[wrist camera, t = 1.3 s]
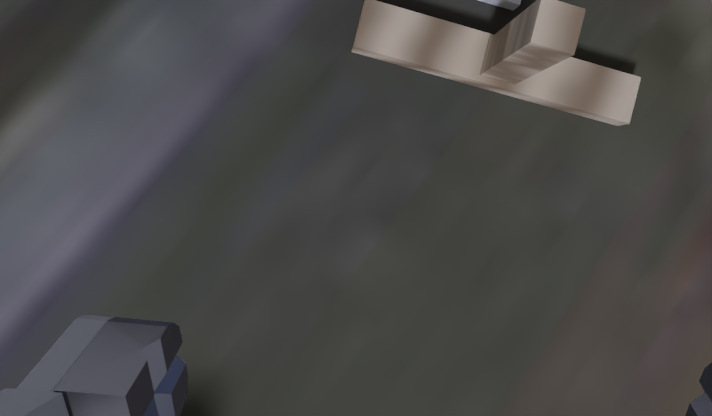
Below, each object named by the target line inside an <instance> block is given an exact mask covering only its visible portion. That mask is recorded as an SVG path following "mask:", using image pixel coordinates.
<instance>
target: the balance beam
mask: <svg viewBox="0 0 712 416" xmlns="http://www.w3.org/2000/svg"><path fill="white" fill-rule="evenodd" d="M585 11H586V9H584V8H581V7H577V6H574V5H571V4H567V3H564V2H561V1H557V0H537V1H535V2H534V3H533V4H532V5H530V6H529V7H528V8H527V9H525V10H524V11H523V12H522V13H520V14H519V15H518V16H517V17H516V18H514V19H513V20H512V21H511V22H509V23H508V24H507V25H506V26H504V27H503V28H502V29H501V30H499V31H498V32H497V33H496V34H495V35H494V34H490V33H487V32H483V31H480V30H476V29H473V28H470V27H466V26H463V25H459V24H456V23H452V22H449V21H445V20H442V19H438V18H435V17H432V16H428V15H425V14H421V13H418V12H414V11H411V10H407V9H404V8H401V7H397V6H394V5H390V4H387V3H383V2H380V1H376V0H365V1H364V4H363V7H362V11H361V15H360V19H359V23H358V27H357V31H356V35H355V39H354V43H353V47H352V52H354V53H357V54H361V55H364V56H368V57H372V58H375V59H379V60H382V61H386V62H390V63H393V64H397V65H400V66H404V67H408V68H411V69H415V70H418V71H422V72H426V73H429V74H433V75H436V76H440V77H443V78H447V79H451V80H454V81H458V82H461V83H465V84H469V85H472V86H476V87H479V88H483V89H487V90H490V91H494V92H497V93H501V94H505V95H508V96H512V97H515V98H519V99H523V100H526V101H530V102H533V103H537V104H540V105H544V106H548V107H551V108H555V109H558V110H562V111H566V112H569V113H573V114H576V115H580V116H584V117H587V118H591V119H594V120H598V121H602V122H605V123H609V124H612V125H616V126H620V125H625V124H630V120H631V116H632V112H633V108H634V104H635V100H636V96H637V92H638V88H639V84H640V80H641V77H638V76H635V75H632V74H628V73H625V72H621V71H618V70H614V69H611V68H607V67H604V66H601V65H597V64H594V63H590V62H587V61H583V60H580V59H576V58H573V57H571V56H573V55H574V54H575V50H576V46H577V43H578V39H579V35H580V31H581V27H582V23H583V19H584V15H585Z"/></svg>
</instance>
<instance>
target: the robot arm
mask: <svg viewBox="0 0 712 416" xmlns="http://www.w3.org/2000/svg"><path fill="white" fill-rule="evenodd" d="M181 344H182V338H181V333H180V328H179V326H178V325H176V324H175V323H172V322H162V321H151V320H141V319H131V318H120V317H114V318H112V317H104V316H93V315H83V316H81V317H78V318H76V319H75V320H74V321H73V322H72V324H71V325H70V326H69V327H68V328H67V329H66V331H65V332H64V333H63V334H62V335H61V336H60V338H59V339H58V340H57V341H56V342H55V344H54V345H53V346H52V347H51V348H50V349H49V351H48V352H47V353H46V354H45V355H44V356H43V358H42V359H41V360H40V361H39V362H38V364H37V365H36V366H35V367H34V368H33V369H32V371H31V372H30V373H29V374H28V375H27V376H26V378H25V379H24V380H23V381H22V382H21V384H20V385H19V386H18V387H17V388H16V389H9V388H5V389H4V390H2V391H0V416H180V414H181V412H182V410H183V407H184V402H185V398H186V394H187V386H188V374H187V367H186V363H185V362H184V361H183V360H182V359H181V358H180V357H179V356H178V355H177V352H178V350H179V348H180V346H181ZM699 382H700V384H701V386H702V388H703V389H704V391H705V393H704V394H702V395H701V396H699V397H698V398H697V399H695V400H694V401H692V402H691V403H690V404H689V407H688V410H687V413H686V416H712V363H710V364H709V365H708V366H707V367H706V368H705V369H704V371H703V373H702V376H701V378H700V380H699Z"/></svg>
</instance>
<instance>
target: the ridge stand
mask: <svg viewBox="0 0 712 416" xmlns="http://www.w3.org/2000/svg"><path fill="white" fill-rule="evenodd" d="M478 1H482V2H485V3H488V4H492V5H495V6H499V7H502V8H505V9H509V10H512V11H514V10H515V9H516V8H517V7H518V6H519V5H520V4H521V0H478Z"/></svg>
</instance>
